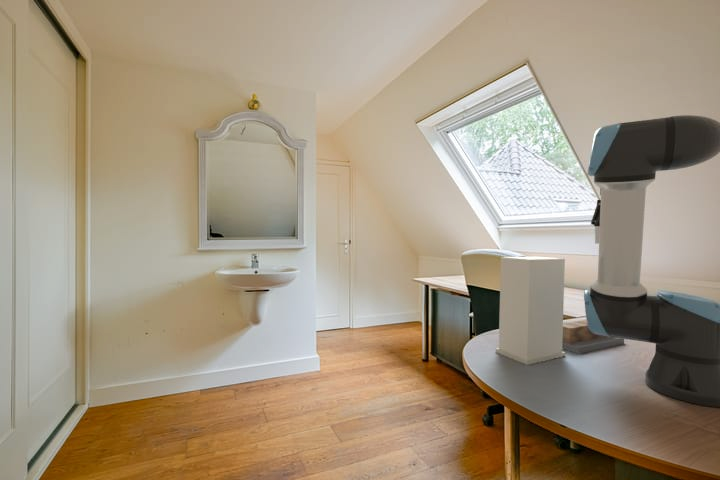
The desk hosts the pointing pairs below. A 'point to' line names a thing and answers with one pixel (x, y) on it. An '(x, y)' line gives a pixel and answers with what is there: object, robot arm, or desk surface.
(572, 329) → the walnut bar
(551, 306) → the stand
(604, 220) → the robot arm
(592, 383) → the desk surface
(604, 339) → the felt mat
